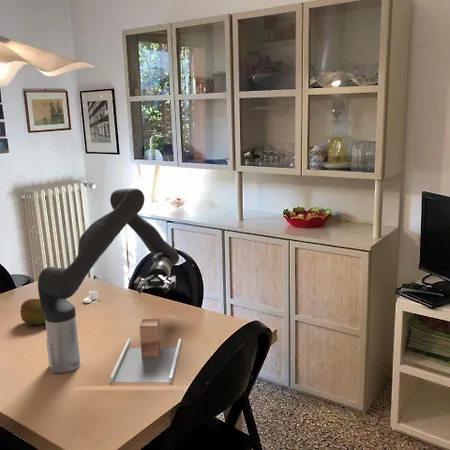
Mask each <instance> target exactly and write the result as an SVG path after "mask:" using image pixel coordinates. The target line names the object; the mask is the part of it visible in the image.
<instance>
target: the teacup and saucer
mask: <svg viewBox="0 0 450 450" xmlns="http://www.w3.org/2000/svg"><path fill="white" fill-rule="evenodd" d="M98 294H99V292H98V290H95V289H94V290H89V291H88V296H87V297H86V298H84V299H83V303H86V304H94V303H95V302H96V300H97V298H98V297H97V296H99V295H98ZM89 297H90V298H89ZM95 299H96V300H95ZM92 300H93V301H92Z"/></svg>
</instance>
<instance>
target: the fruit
mask: <svg viewBox="0 0 450 450" xmlns="http://www.w3.org/2000/svg"><path fill="white" fill-rule="evenodd" d="M19 313H20V316H21V317H20V318H21V320H22V321H23V322H24V323H25V324H28V325H34V326H35V325H36V326H37V325H38V326H39V325H44V324H46V322H45V315H44V313H43V312H42V309H41V304H40V298H29V299H27V300H25V301H23V302H22V303H21V306H20V311H19Z"/></svg>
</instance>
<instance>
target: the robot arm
mask: <svg viewBox="0 0 450 450" xmlns="http://www.w3.org/2000/svg"><path fill="white" fill-rule="evenodd" d="M109 203H110V206H111V207H112V210H111V211H110V212H108V213H106V214H105V215H103V216H102V217H99V218H98V219H96V220H95V221H94V222H92V223H91V224H90V225H89V227H87V228H86V229H85V231H84V232H83V234H81V236H80V238H79V241H78V249H77V250H78V251H77V255H76V257H75V259H74V260H73V261H72V262H71V264H69V266H68V267H65V268H63V267H57V266H48V267H45V268H44V269H42V270H41V272H40V273H39V275H38V279H37V290H38V299H40V304H41V309H42V312H43V313H44V315H45V322H46V323H45V328H46V329H45V331H46V348H47V359H48V365H49V368H50V371H51V374H66V373H70V372H73V371H75V370H77V369H78V368H79V367H80V366H81V357H80V347H79V337H78V335H79V334H78V329H77V328H78V326H77V314H76V308H75V306H74V304H72V303H71V302H70V301H68V300H67V299H70V298H71V297H73V296H74V295H75V293H76V292H77V291H78V289H79V288H80V286H81V285H82V283H83V282H84V281H85V279H86V277H87V275H88V274H89V272H90V271H91V270H92V268H93V267H94V265H95V264H96V263H97V262H98V261H99V259H100V257H101V256H102V255H103V254H104V252H105V251H107V249H108V248H109V247H110V245H111V244H112V243H113V242H114V240H115V239H116V238H117V237H118V236H119V234H120V232H122V231H123V229H124V228H125V227H126V225H128V226H129V227H130V228H131V229H132V231H133V232H135V233H136V235H137V236H138V237H139V238H140V239H141V241H142V242H143V244H144V245H145V247H146V248H147V249H148V251H149V252H150V253H151V254H154V255H153V256H152V259H151V260H152V263H153V264H152V265H151V266H150V269H149V271H148V274H147V276H146V277H145V278H142V277H141V276H140V275H139V276H137V278H136V279H135V280H134V282H133V284H134V290H137V291H136V292H137V293H138V294H142V292H143V290H144V289H147V290H148V289H150V288H162V289H163V294H166V293H167V292H169V290H170V289H172V290H173V289H176V285H177V279H176V275H172V276H171V270H172V266H175V265H177V264H178V263H179V261H180V255H179V253H178V251H177V250H176V249H175V248H174V247H173V246H172V245H170V244H169V243H168V242H167V241H165V240H164V238H163V236H162V235H161V234H160V232H159V231H158V229H156V227H155V226H154V225H152V224H151V223H149V221H147V220H145V219H144V218H143V217H141V216H140V215H139V214H138V213H140V211H141V210H142V209H143V207H144V204H145V194H144V192H143V191H142V190H141V189H139V188H137V187H136V188H135V187H129V188H128V187H126V188H119V189H116V190H114V191H113V192H111V195H110V199H109Z"/></svg>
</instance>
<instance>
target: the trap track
mask: <svg viewBox="0 0 450 450" xmlns="http://www.w3.org/2000/svg"><path fill="white" fill-rule="evenodd" d="M131 341H132V340H131V338H128V339H127V340H126V343H125V345H124V347H123V349H122V352H121V353H120V355H119V358H118V360H117V362H116V364H115V366H114V368H113V370H112V372H111V375H110V376H109V377H110V378H109V383H111V384H112V383H113V384H114V383H115V384H116V383H173V381H174V380H173V379H174V375H175V372H176V366H177V364H178V363H177V362H178V358H179V354H180V351H181V346H182V338H178V340H177V341H178V342H177V344H176V347H161V350H160V353H159V356H158V357H142V354H141V347H130V345H131V344H132V342H131Z"/></svg>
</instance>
